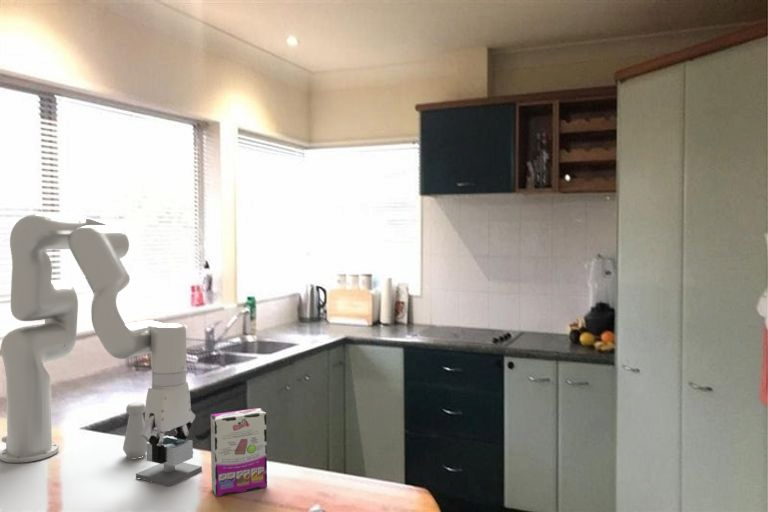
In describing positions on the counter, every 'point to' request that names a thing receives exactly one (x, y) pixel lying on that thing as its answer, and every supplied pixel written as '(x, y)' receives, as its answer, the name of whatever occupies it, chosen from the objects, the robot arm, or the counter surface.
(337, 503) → the counter surface
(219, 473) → the candy bar box
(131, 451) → the salt shaker
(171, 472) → the wall peg plate
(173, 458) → the link
